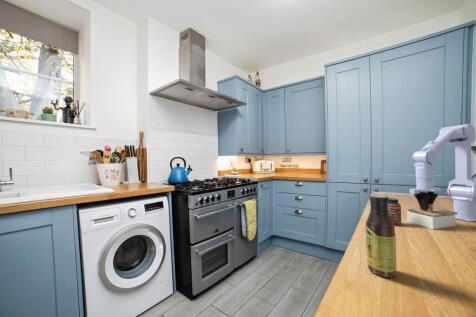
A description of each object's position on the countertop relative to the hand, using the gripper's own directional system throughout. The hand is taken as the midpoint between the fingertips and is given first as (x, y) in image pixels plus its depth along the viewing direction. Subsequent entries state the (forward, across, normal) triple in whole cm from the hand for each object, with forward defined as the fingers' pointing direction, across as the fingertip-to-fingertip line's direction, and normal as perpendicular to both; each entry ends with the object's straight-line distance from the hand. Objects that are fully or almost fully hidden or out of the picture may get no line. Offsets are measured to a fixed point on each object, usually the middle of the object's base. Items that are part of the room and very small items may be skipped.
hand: (426, 209), depth 85 cm
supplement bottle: (+7, -12, +5) cm, 15 cm away
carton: (+7, +2, 0) cm, 7 cm away
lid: (+1, +3, 0) cm, 3 cm away
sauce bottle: (+7, -51, -25) cm, 57 cm away
